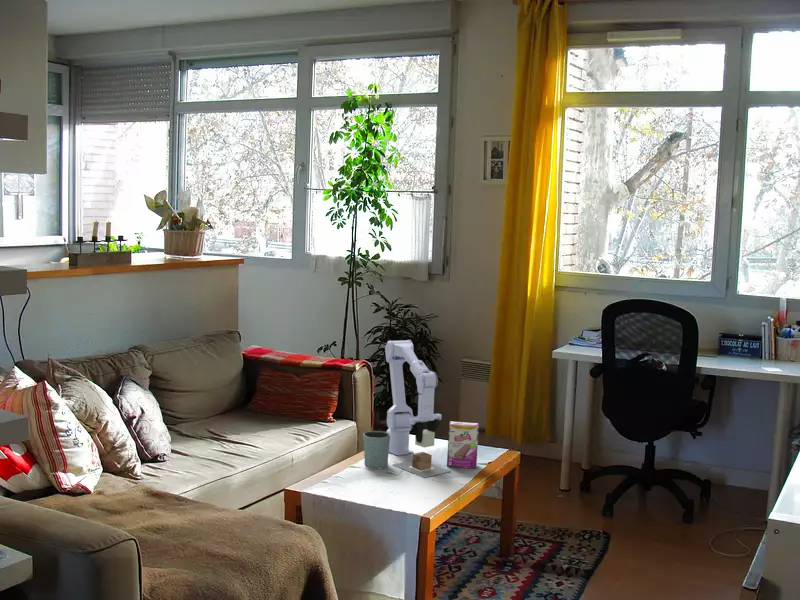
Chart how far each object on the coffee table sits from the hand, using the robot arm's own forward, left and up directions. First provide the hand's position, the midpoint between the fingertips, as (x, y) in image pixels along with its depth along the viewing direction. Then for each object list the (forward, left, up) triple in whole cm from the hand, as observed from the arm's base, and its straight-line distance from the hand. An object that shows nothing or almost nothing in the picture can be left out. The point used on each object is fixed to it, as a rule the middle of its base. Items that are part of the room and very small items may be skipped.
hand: (424, 440), depth 316 cm
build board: (+1, -2, -10) cm, 10 cm away
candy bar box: (+7, +13, -10) cm, 18 cm away
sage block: (0, 0, -2) cm, 2 cm away
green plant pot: (-11, -14, -10) cm, 21 cm away
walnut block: (+1, -2, -10) cm, 10 cm away
